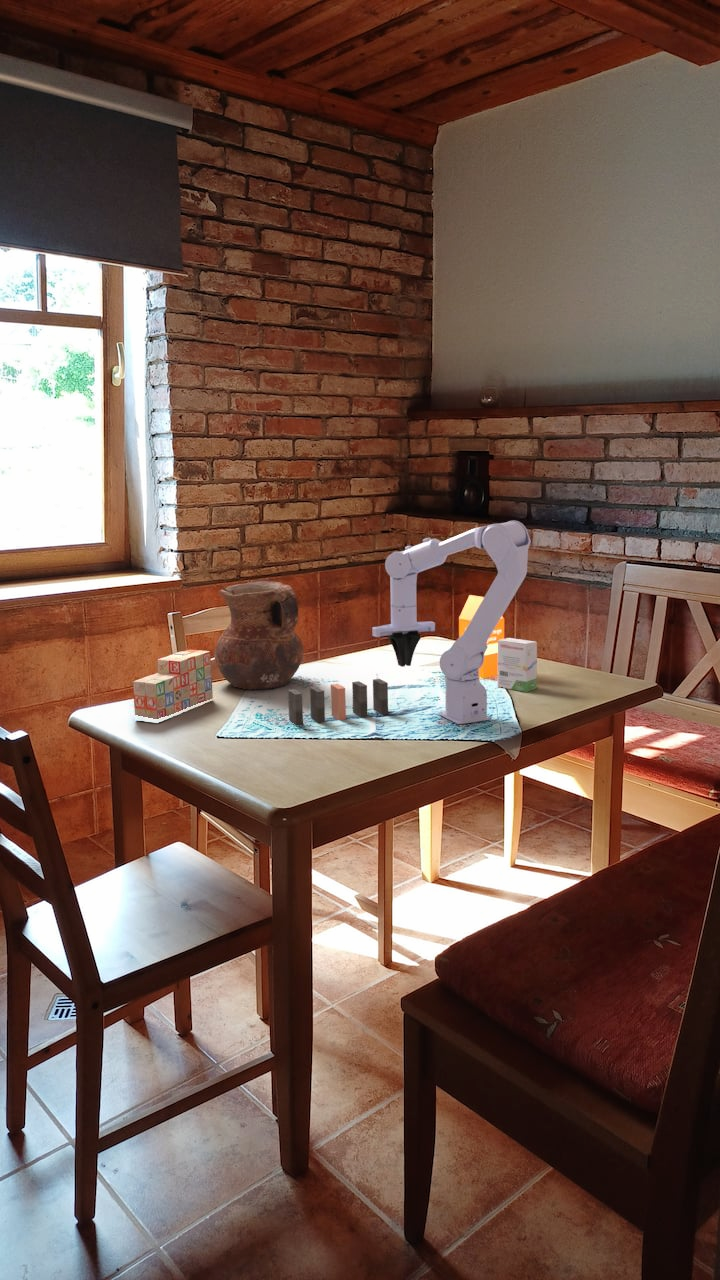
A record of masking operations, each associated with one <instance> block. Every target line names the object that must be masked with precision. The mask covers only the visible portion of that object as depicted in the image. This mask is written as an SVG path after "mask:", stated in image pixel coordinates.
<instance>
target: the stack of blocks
mask: <svg viewBox="0 0 720 1280" xmlns="http://www.w3.org/2000/svg"><path fill="white" fill-rule="evenodd" d="M211 659H212V658H211V651H209V650H198V649H186V650H184V651H183V650H182V651H178V652H175V653H173V654H170V655H168V656H165V657H164V656H163V657H161V658H158V659H157V672H156V673H153V674H150V675H147V676H145V677H142V678H139V679H136V680H134V681H133V683H132V684H133V685H132V686H133V704H134V705H133V707H134V716H135V715H138V716H143V717H148V718H153V719H159V718H161V717H165V716H169V715H171V714H174V713H176V712H179V711H181V710H183V709H186V708H187V707H191V706H193V705H196V704H198V703H201V702H204V701H207V700H210V699H212V698H213V699H214V696H213V681H212V680H213V679H212V676H213V675H212V662H211V661H212V660H211Z"/></svg>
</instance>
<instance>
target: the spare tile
mask: <svg viewBox="0 0 720 1280" xmlns="http://www.w3.org/2000/svg"><path fill="white" fill-rule="evenodd" d="M330 701H331V702H330V703H331V704H330V706H331V707H330V708H331V716H332V717H333V718H335V719H336V720H339V721H342V720H343V721H344V720H347V717H346V716H347V714H346V713H347V712H346V710H347V709H346V708H347V707H346V687H344V686H343V685H341V684H339V683H333V684H330Z"/></svg>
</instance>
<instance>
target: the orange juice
mask: <svg viewBox="0 0 720 1280" xmlns="http://www.w3.org/2000/svg"><path fill="white" fill-rule="evenodd" d="M484 597H485V596H478V595H474V594H473V595H472V594H469V595H468V598H467V600H466V602H465V604H464V607H463V608H462V611H461V613H460V615H459V616H458V638H459V637H460V636H461V635H462V634H463V633H464V632H465V630H466V628H467V626H468V625H469V623H470V621H471V619H472V618H473V616H474V614H475V613H476V611H477V609H478V607H479V606H480V604H481V602H482V600H483V599H484ZM501 639H505V618H504V616H503V615H502V617H501V619H500V620H499V622H498V624H497V625H496V627H495V629H494V630H493V632H492V634H491V635H490V637H489V639H488V640H487V642H486V644H487V646H488V648H487V650H486V651H485V654H484V662H483V665H482V666H481V667H480V668H479V677H481V678H480V679H482V678H485V679H487V678H486V677H489V678H491V677H490V676H494V675H498V641H499V640H501ZM494 677H495V676H494Z"/></svg>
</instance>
